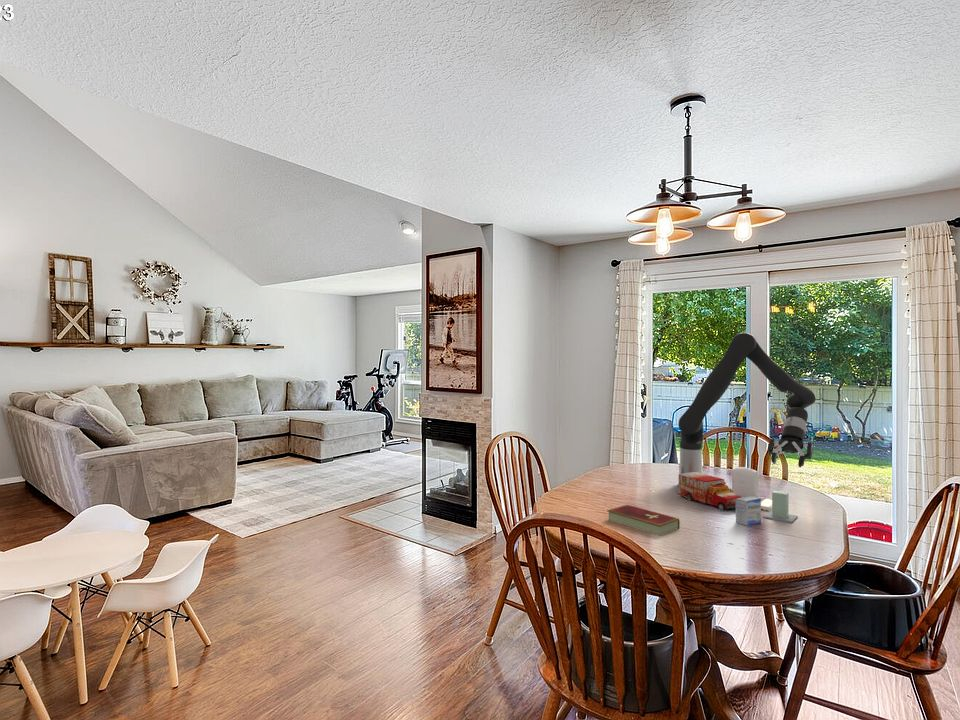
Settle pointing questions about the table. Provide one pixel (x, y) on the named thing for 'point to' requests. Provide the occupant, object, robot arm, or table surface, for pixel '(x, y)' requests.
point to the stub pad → (788, 519)
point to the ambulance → (707, 490)
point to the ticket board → (766, 504)
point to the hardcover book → (644, 519)
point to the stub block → (780, 504)
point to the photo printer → (745, 482)
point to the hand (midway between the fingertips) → (786, 464)
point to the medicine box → (748, 510)
